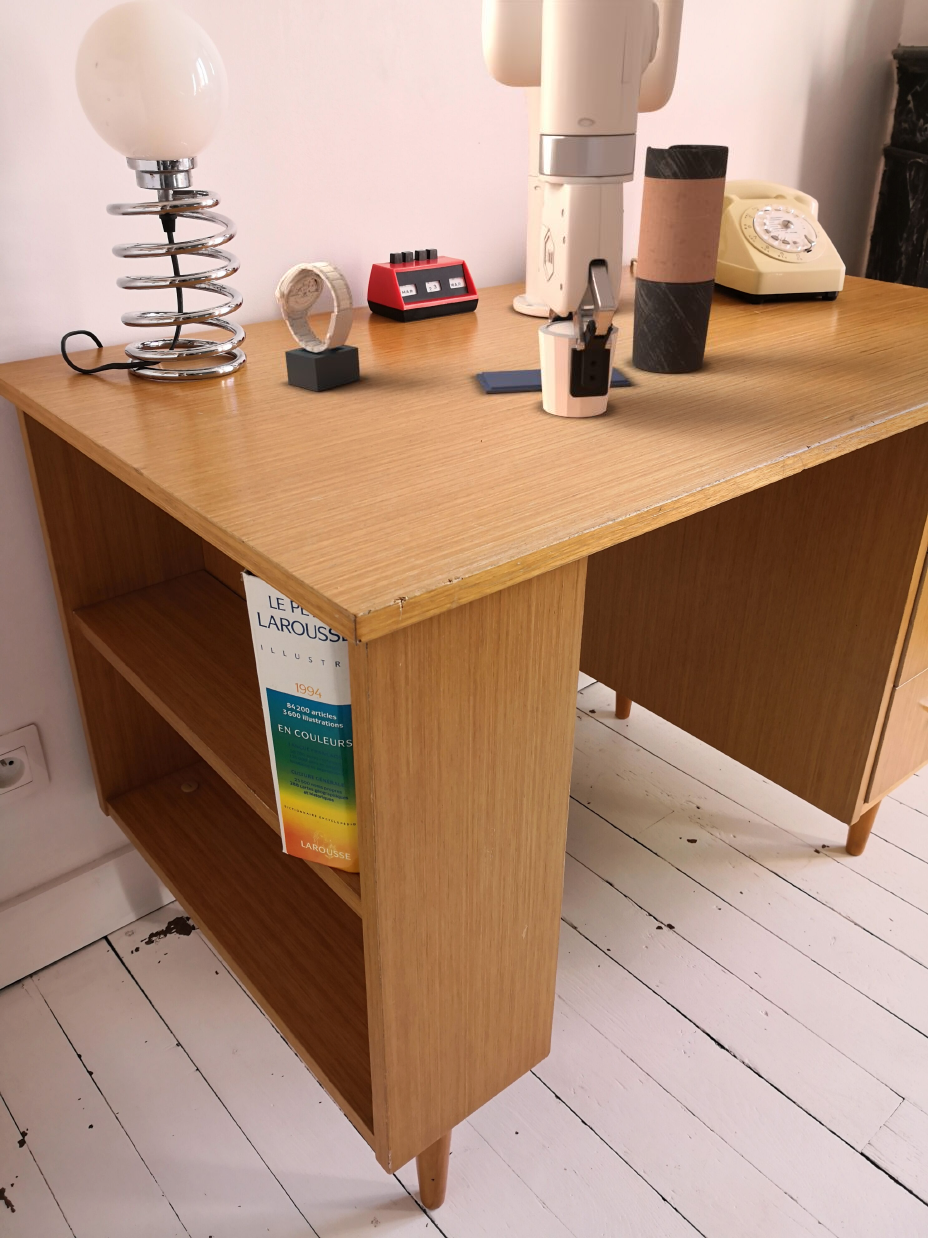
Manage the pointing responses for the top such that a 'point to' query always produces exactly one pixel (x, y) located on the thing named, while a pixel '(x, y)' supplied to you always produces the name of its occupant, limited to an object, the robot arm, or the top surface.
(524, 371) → the blue flat rectangular slab
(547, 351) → the cream tapered cup
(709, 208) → the travel mug
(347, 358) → the watch
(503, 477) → the top surface
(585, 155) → the robot arm
